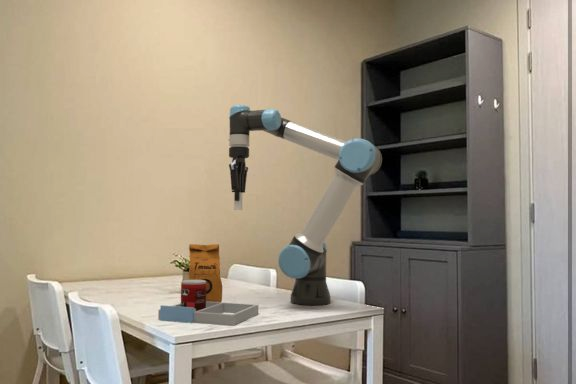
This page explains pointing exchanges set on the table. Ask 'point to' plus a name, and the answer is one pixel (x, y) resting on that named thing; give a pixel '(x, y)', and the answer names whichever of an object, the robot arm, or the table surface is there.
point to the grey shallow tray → (209, 313)
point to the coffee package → (206, 269)
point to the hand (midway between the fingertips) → (238, 209)
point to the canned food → (193, 294)
